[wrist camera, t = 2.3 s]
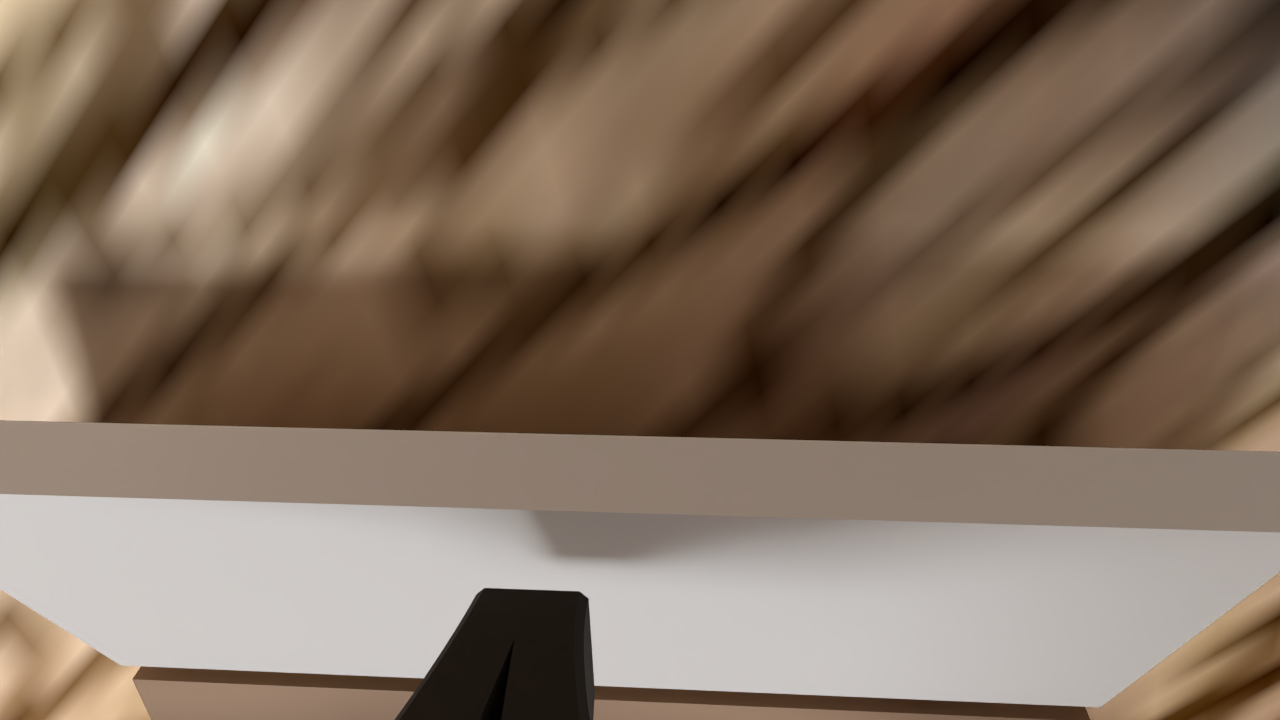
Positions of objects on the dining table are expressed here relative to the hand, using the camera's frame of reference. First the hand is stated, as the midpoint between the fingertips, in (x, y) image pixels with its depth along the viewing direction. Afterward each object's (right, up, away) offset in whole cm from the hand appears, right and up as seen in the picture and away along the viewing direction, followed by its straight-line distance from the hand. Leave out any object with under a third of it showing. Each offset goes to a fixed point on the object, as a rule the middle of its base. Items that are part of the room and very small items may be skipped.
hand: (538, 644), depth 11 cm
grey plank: (0, 0, +4) cm, 4 cm away
